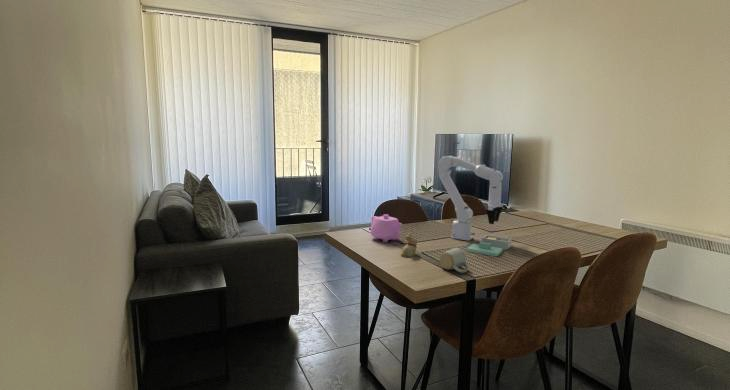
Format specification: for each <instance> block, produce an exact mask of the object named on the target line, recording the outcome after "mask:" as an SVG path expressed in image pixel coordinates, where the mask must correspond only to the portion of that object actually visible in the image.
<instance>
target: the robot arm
mask: <svg viewBox="0 0 730 390" xmlns="http://www.w3.org/2000/svg"><path fill="white" fill-rule="evenodd" d="M437 165H438V177H439V179H440V181H441V183H442V185H443V187H444V188H445V189H444V190H446V193H447V194H448V196H449V198H450V199H451V201H452V203H453V205H454V211H455V213H456V219H457V220H453V221H452V224H451V234H450V235H451V236H450V238H451V239H456V240H462V241H468V242H469V241H470V240H472V239H474V236H472V224H473V223H472V222H473V220H472V218H473V216H474V211H473V209H471V207H469V205H468V204H467V203H466V202H464V199H463V197H462V196H461V194H460V192H459V190H458V188H457V186H456V184H455V183H454V181H453V179H452V177H451V173H452V170H453V169H454V167H462V168H464V169H466V170H468V171H472V172H474V175H475V176H477V177H480V178H481V179H484V180H488V181H489V191H488V204H487V208H485V213H486V215H487V219H488V223H489V225H494V224H495V222H499V218H500V216H501V212H502V211H503V209H504V208H503V207H504V204H501V201H502V190H503V189H502V184H503V183H502V180H503V179H504V175H503V173H502V172H501V171H500V170H497V169H496V168H491V167H488V166H486V164H484V163H483V164H479V165H476V164H474V163H472V162H469V161H468V160H464V159H463V158H461V157H457V156H453V155H443V156H442V157H440V159H439V161H438V164H437Z"/></svg>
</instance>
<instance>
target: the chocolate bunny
mask: <svg viewBox="0 0 730 390" xmlns="http://www.w3.org/2000/svg"><path fill="white" fill-rule="evenodd" d="M405 240H406V241H407V243H406V245H405V246H403V247H402V250H401V252H400V253H401V254H400V256H401V257H414V256H415V255H416V251H417V248H418V247H417V246H418V245H417V244H418V242H417V238H415V237H414V236H413V235H412V234H411V232H407V235H406V236H405Z"/></svg>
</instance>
